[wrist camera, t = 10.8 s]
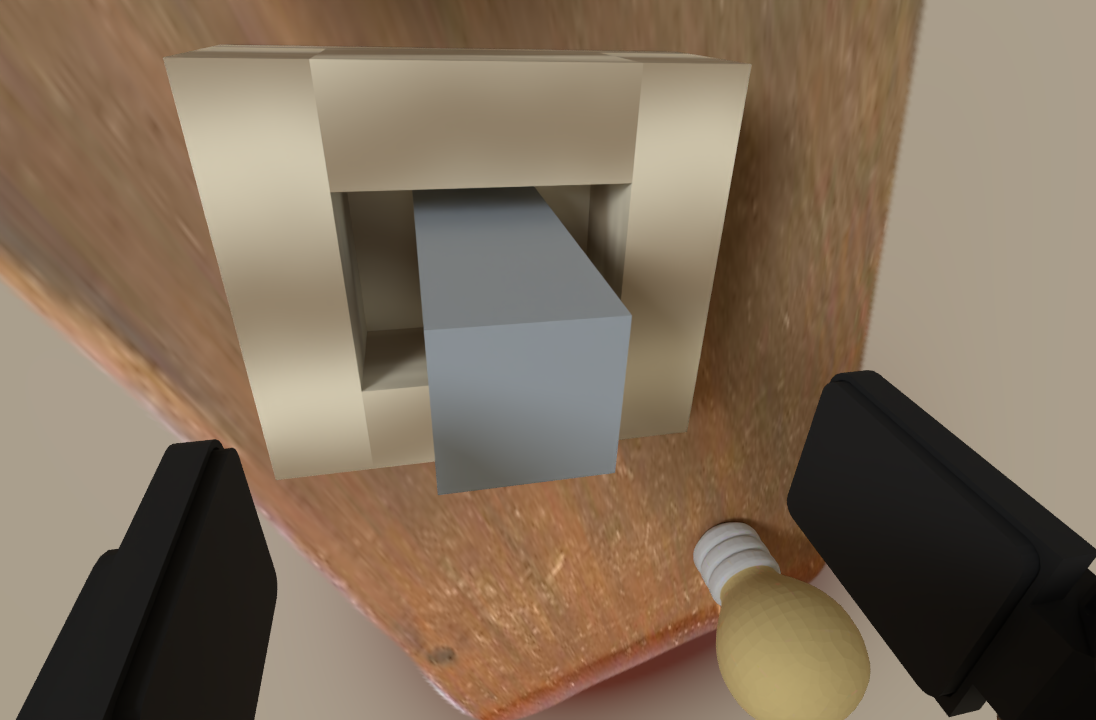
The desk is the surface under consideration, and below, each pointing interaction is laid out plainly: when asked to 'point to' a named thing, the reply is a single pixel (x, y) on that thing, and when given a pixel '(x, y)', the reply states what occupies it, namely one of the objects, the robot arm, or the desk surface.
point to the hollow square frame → (445, 163)
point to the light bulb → (779, 633)
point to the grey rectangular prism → (516, 342)
